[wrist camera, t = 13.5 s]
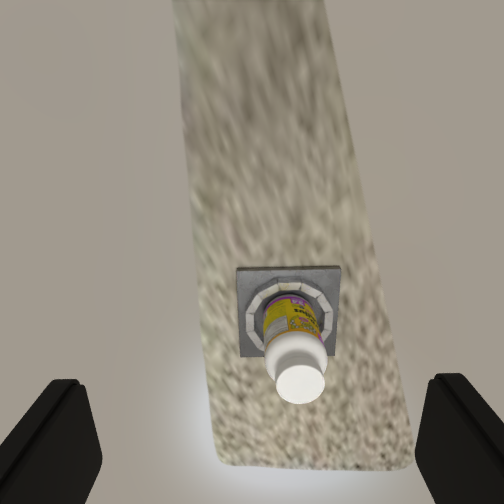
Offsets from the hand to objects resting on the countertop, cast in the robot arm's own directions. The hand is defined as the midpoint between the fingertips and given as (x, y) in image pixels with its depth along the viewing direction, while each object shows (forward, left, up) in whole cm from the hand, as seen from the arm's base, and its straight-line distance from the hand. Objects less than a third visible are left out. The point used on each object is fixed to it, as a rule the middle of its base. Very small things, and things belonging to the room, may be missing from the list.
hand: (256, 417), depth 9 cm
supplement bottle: (+16, +4, -32) cm, 35 cm away
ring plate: (+16, +4, -32) cm, 36 cm away
